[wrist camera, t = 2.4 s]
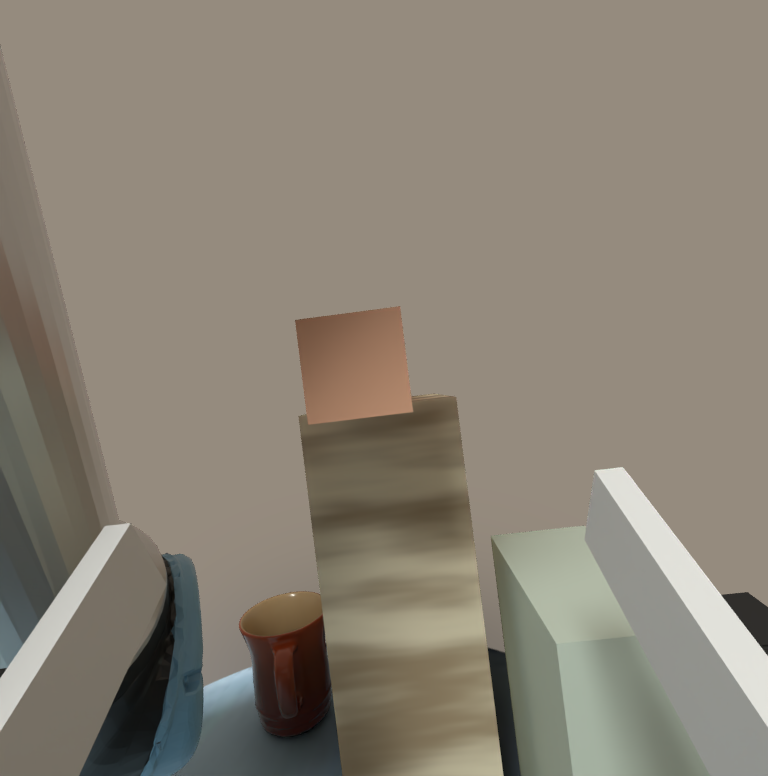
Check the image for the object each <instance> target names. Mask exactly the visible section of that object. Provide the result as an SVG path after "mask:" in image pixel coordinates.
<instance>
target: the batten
mask: <svg viewBox="0 0 768 776" xmlns="http://www.w3.org/2000/svg"><path fill="white" fill-rule="evenodd" d="M295 322H296V330H297V339H298V347H299V355H300V363H301V371H302V380H303V388H304V396H305V404H306V412H307V420H308V425H311V424H319V423H327V422H336V421H344V420H352V419H360V418H368V417H377V416H385V415H393V414H401V413H410V412H413V407H412V399H411V391H410V383H409V375H408V367H407V359H406V351H405V342H404V334H403V326H402V318H401V311H400V306H398V307H391V308H383V309H377V310H368V311H361V312H353V313H346V314H338V315H331V316H322V317H315V318H307V319H300V320H295Z"/></svg>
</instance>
